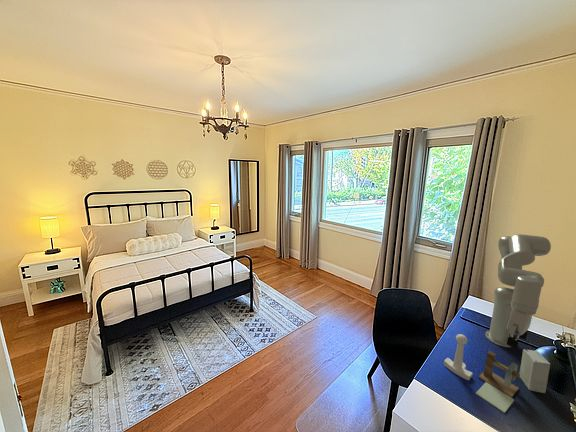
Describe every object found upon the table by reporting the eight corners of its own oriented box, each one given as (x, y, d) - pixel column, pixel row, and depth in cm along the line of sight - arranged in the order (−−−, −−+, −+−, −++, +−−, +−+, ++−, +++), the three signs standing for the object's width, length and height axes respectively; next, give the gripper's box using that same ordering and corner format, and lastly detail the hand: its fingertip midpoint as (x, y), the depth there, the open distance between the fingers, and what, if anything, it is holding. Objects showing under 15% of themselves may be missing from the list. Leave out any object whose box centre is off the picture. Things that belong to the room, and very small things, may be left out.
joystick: (442, 364, 121) (447, 330, 117) (450, 358, 125) (455, 324, 121) (467, 381, 112) (473, 344, 108) (475, 374, 115) (481, 338, 111)
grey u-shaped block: (509, 376, 109) (512, 362, 108) (514, 379, 108) (518, 364, 106) (503, 384, 106) (506, 369, 104) (508, 387, 104) (511, 372, 103)
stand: (486, 370, 118) (490, 347, 115) (519, 389, 107) (524, 364, 105) (478, 377, 114) (482, 354, 111) (512, 398, 103) (517, 373, 101)
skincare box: (545, 394, 105) (552, 365, 102) (528, 390, 107) (534, 362, 104) (533, 377, 113) (539, 350, 110) (517, 374, 115) (522, 348, 111)
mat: (485, 383, 111) (485, 381, 111) (514, 400, 102) (514, 399, 102) (475, 393, 106) (475, 392, 106) (504, 413, 97) (504, 412, 97)
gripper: (519, 295, 106) (513, 329, 110) (503, 308, 98) (496, 344, 101) (543, 303, 100) (535, 339, 104) (528, 317, 92) (520, 356, 95)
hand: (516, 342), depth 103 cm, fingers open, 9 cm apart
